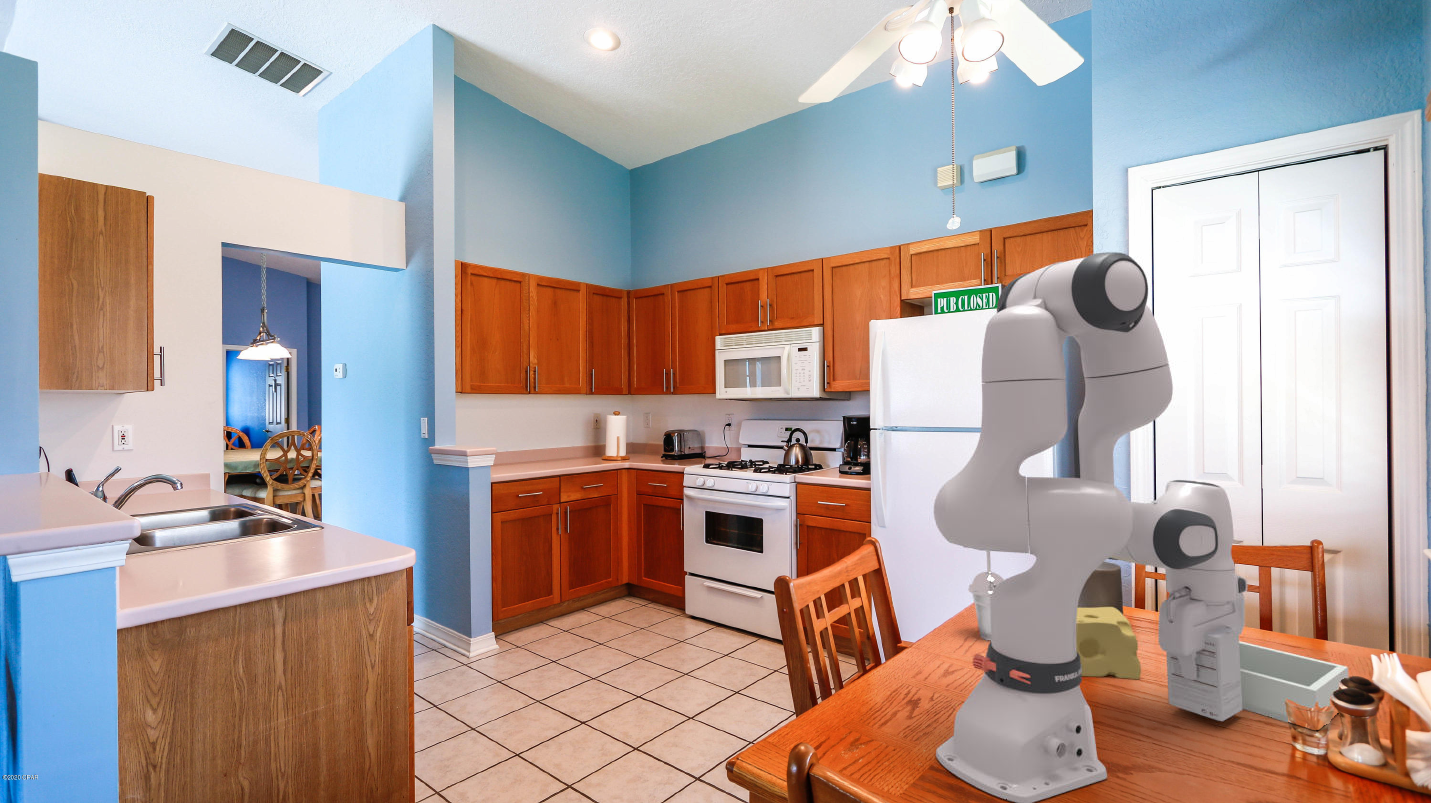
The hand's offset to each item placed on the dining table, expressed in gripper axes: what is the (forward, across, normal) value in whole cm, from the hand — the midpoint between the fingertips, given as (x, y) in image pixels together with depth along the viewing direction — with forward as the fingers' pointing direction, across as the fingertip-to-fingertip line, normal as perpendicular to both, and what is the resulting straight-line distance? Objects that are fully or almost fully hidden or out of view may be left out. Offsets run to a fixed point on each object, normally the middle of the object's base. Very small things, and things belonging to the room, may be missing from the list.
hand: (1204, 672), depth 99 cm
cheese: (+7, +5, +20) cm, 21 cm away
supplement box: (+6, 0, 0) cm, 6 cm away
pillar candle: (+6, +27, +31) cm, 42 cm away
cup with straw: (+6, +3, +40) cm, 41 cm away
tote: (+6, +15, -3) cm, 16 cm away
